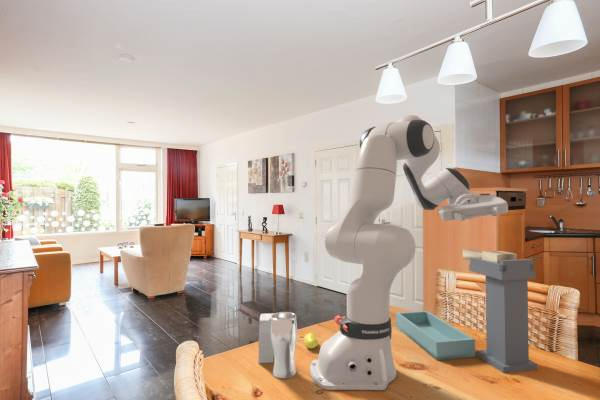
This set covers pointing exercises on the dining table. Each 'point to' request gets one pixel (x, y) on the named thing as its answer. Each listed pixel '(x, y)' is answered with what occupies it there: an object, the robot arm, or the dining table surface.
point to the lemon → (310, 340)
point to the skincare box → (265, 339)
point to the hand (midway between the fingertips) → (478, 215)
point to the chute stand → (506, 313)
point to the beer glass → (284, 344)
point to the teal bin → (435, 335)
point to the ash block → (489, 255)
